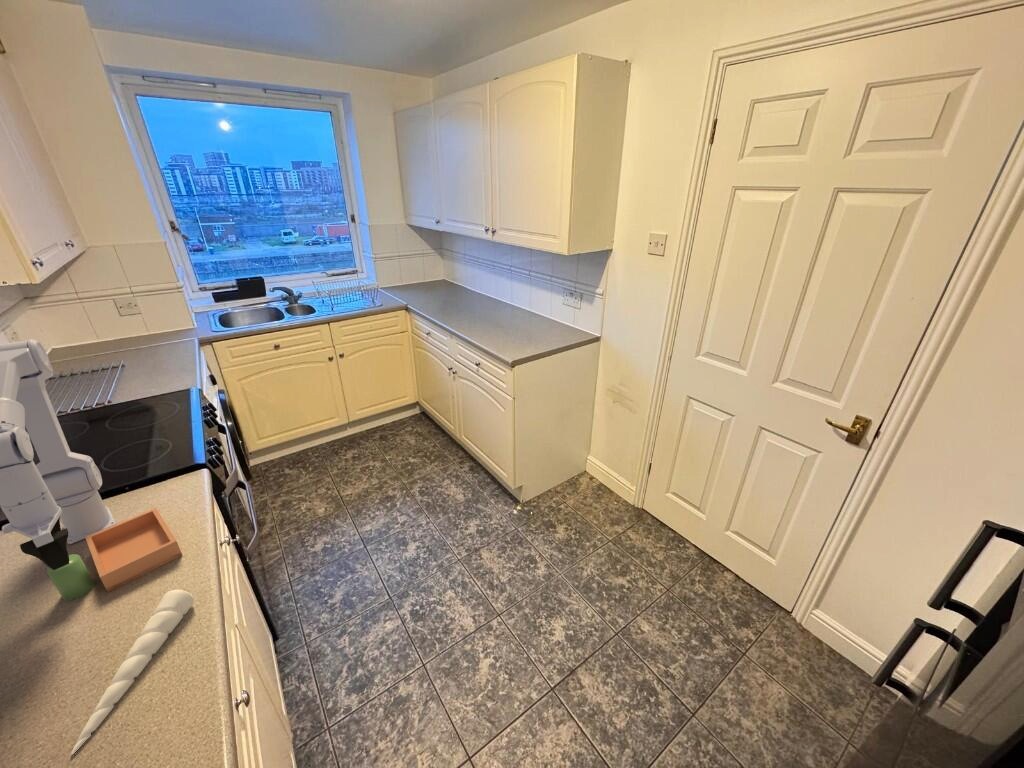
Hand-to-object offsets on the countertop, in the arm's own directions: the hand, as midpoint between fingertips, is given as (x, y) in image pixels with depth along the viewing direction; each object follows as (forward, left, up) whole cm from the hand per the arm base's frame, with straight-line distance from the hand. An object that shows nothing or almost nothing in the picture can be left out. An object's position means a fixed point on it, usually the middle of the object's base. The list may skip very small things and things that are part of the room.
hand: (58, 555), depth 77 cm
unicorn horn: (+27, +5, -10) cm, 29 cm away
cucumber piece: (0, 0, -9) cm, 9 cm away
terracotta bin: (-3, +10, -9) cm, 13 cm away
